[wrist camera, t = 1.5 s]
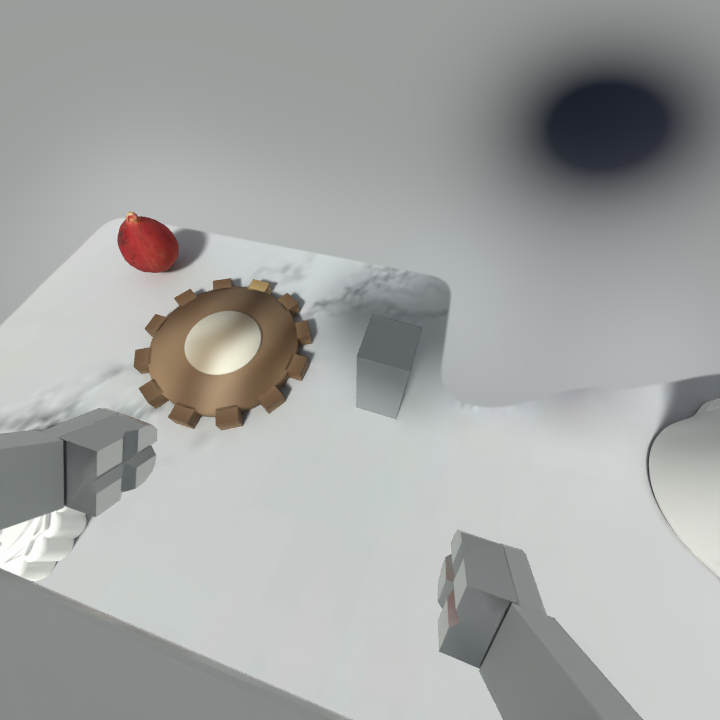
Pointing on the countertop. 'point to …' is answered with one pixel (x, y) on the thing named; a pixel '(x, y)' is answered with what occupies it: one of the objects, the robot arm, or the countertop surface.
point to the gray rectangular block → (385, 364)
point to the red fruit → (147, 244)
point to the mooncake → (40, 543)
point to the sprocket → (223, 353)
